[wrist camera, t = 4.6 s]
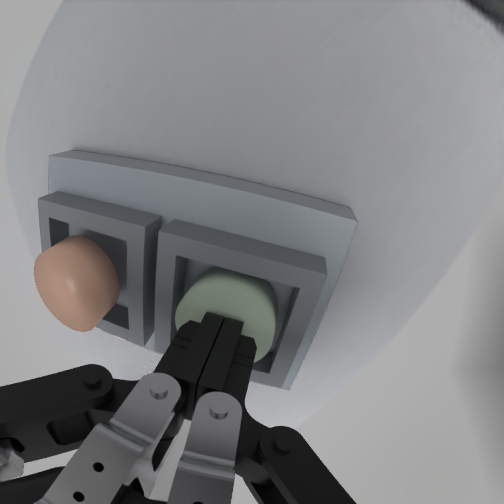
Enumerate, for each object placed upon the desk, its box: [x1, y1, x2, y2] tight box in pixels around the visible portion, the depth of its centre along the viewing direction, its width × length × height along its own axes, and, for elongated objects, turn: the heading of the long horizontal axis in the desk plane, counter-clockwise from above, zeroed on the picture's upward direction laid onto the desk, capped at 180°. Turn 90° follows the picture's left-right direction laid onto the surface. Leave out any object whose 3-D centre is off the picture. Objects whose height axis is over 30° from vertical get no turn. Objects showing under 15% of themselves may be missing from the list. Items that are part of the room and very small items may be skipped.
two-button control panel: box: [38, 150, 358, 390], centre depth 14 cm, size 10×15×4 cm, turn 78°
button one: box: [175, 266, 278, 363], centre depth 12 cm, size 4×4×2 cm
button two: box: [34, 235, 120, 332], centre depth 12 cm, size 4×4×2 cm
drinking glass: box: [149, 418, 193, 502], centre depth 14 cm, size 7×7×15 cm
